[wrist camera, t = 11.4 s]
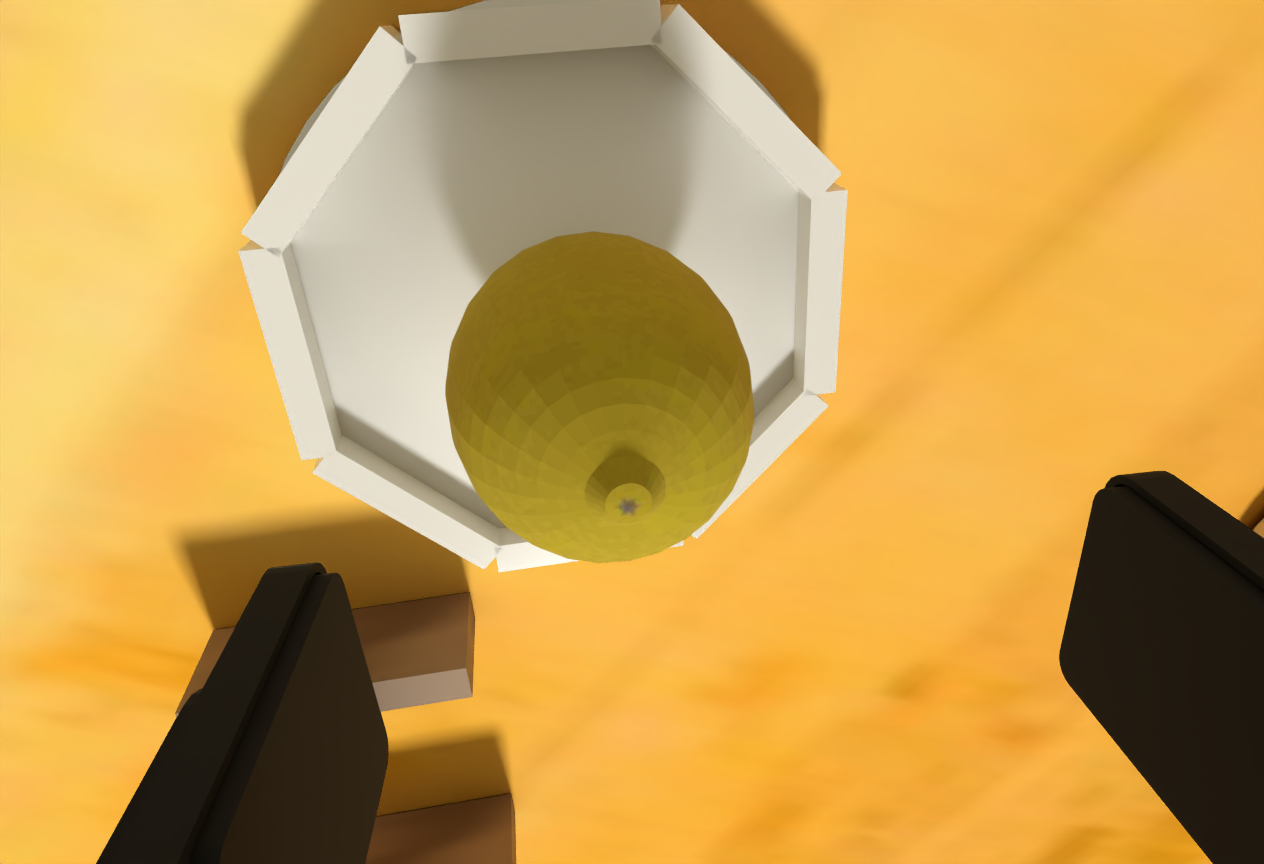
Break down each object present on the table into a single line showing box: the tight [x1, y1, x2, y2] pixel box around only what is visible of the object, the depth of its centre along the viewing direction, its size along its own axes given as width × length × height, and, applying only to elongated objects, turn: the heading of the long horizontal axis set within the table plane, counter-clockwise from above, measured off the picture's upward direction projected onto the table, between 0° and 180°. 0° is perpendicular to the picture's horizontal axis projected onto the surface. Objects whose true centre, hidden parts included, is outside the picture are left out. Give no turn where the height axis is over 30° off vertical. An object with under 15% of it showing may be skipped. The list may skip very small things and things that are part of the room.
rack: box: [175, 592, 516, 864], centre depth 23 cm, size 7×10×3 cm
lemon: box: [445, 231, 754, 563], centre depth 15 cm, size 6×6×8 cm
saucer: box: [238, 0, 848, 572], centre depth 18 cm, size 13×13×2 cm
